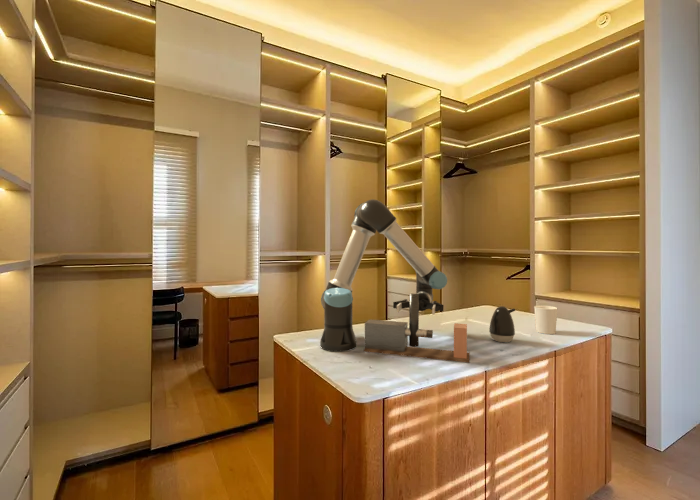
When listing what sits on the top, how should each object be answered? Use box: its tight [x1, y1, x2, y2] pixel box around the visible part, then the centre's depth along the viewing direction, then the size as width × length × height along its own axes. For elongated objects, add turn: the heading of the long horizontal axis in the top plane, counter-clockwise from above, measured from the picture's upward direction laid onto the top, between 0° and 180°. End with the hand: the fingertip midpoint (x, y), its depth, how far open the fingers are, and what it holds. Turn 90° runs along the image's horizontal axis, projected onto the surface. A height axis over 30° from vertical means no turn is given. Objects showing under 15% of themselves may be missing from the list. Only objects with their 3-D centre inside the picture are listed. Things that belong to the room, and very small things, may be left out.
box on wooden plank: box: [364, 319, 409, 352], centre depth 139 cm, size 16×6×10 cm, turn 71°
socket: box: [453, 322, 468, 359], centre depth 130 cm, size 4×7×11 cm, turn 161°
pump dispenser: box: [489, 305, 516, 343], centre depth 152 cm, size 10×10×15 cm
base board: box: [363, 346, 471, 364], centre depth 135 cm, size 40×9×1 cm, turn 71°
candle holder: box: [533, 305, 558, 335], centre depth 167 cm, size 10×10×12 cm
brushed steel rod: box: [405, 293, 434, 347], centre depth 137 cm, size 24×4×20 cm, turn 71°
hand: (415, 310), depth 134 cm, fingers open, 13 cm apart
